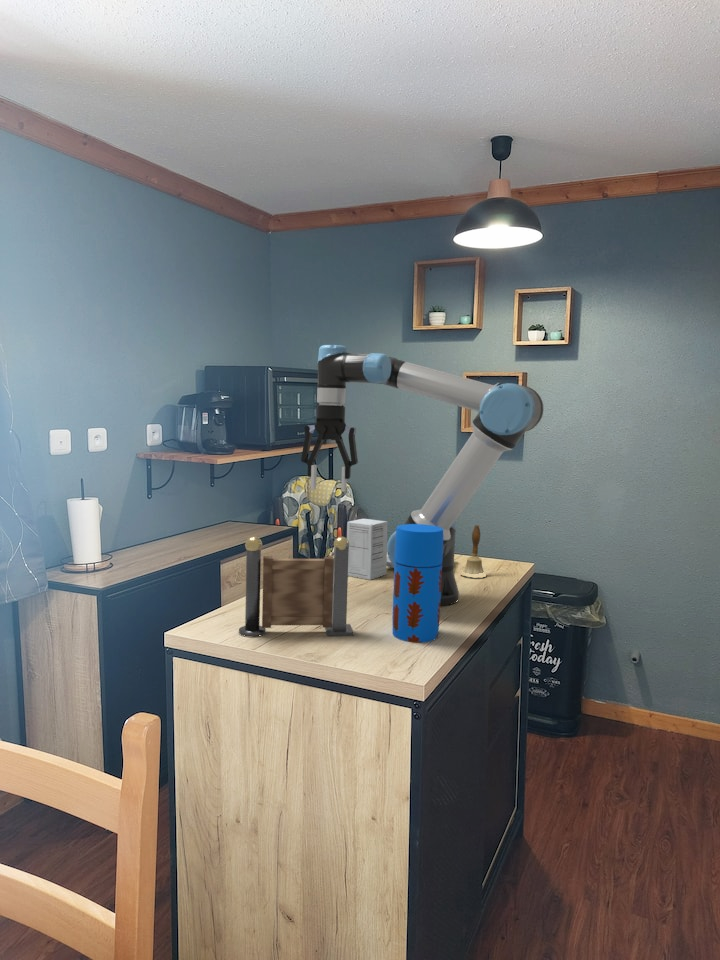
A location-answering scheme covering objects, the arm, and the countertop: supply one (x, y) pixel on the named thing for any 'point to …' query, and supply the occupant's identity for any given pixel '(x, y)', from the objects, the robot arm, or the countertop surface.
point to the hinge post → (252, 588)
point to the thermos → (417, 582)
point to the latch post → (340, 590)
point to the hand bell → (474, 555)
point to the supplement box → (367, 548)
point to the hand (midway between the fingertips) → (328, 489)
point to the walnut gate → (297, 591)
